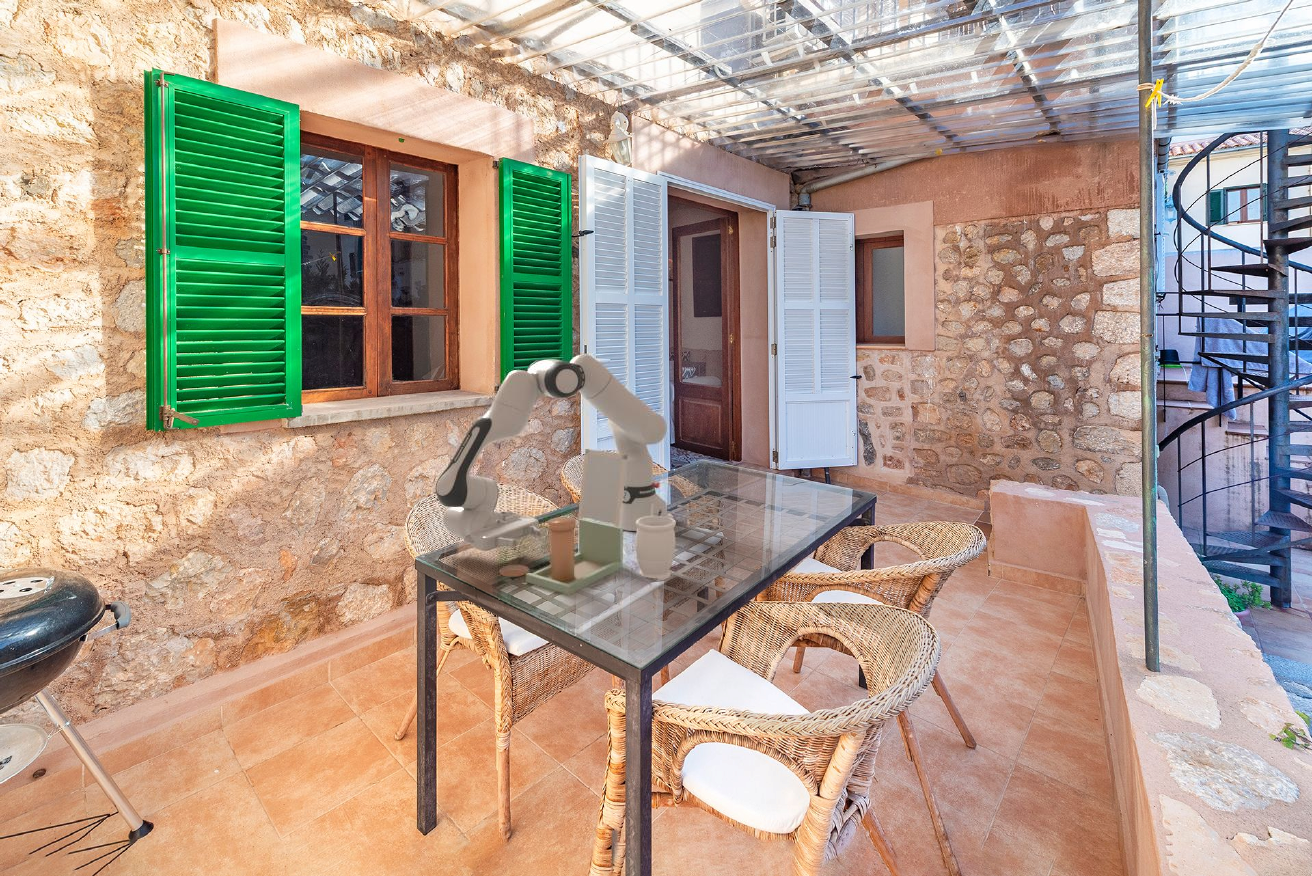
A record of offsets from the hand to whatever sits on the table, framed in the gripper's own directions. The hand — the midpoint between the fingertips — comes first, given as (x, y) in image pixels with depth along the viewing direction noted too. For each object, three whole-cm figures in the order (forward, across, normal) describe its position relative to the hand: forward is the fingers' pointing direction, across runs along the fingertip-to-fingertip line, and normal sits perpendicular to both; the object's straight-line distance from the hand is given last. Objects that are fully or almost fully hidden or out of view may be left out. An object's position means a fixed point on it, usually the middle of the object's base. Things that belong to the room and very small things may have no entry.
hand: (527, 538), depth 168 cm
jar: (+29, +17, +9) cm, 35 cm away
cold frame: (+13, +4, +9) cm, 16 cm away
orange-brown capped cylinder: (+12, 0, +8) cm, 15 cm away
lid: (+13, +15, -13) cm, 24 cm away
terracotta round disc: (-1, -4, +9) cm, 10 cm away
